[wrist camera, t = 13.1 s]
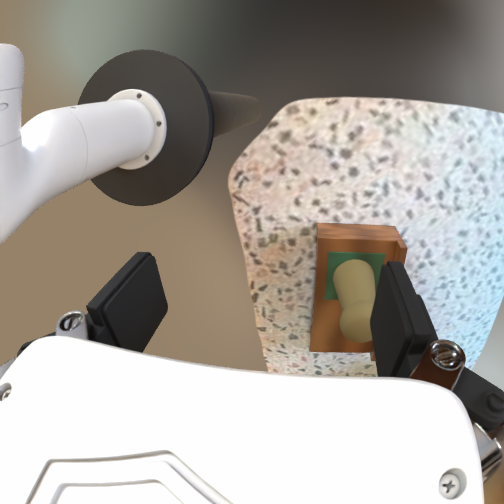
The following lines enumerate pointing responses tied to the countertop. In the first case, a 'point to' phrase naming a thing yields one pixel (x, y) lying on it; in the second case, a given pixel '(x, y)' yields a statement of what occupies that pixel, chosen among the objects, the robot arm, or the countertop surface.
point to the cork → (355, 298)
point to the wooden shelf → (328, 259)
